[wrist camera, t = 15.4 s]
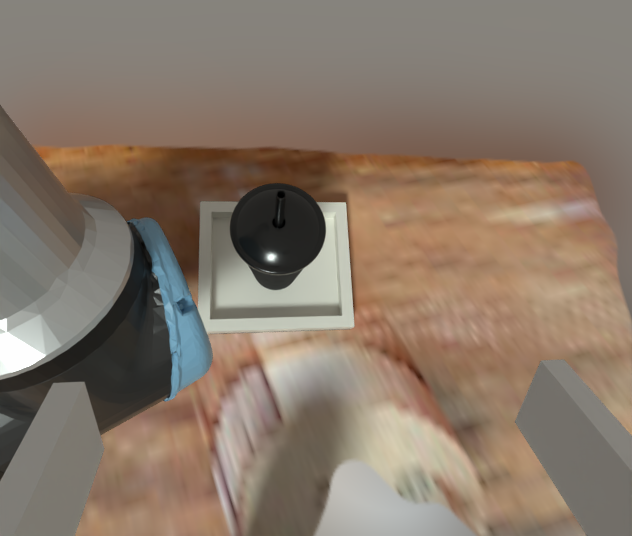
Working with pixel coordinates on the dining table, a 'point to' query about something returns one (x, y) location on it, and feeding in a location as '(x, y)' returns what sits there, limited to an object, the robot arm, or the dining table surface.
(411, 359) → the dining table surface
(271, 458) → the dining table surface
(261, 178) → the dining table surface
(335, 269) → the tray
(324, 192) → the dining table surface
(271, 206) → the drinking cup
